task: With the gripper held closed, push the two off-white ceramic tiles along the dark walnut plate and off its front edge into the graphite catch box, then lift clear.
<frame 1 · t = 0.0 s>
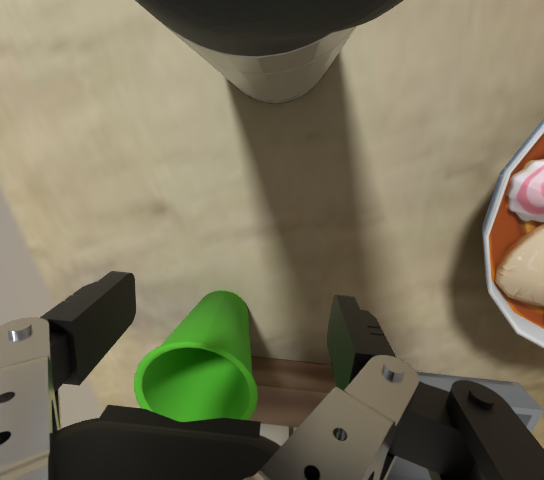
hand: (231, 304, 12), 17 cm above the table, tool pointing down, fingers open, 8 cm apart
catch box: (427, 430, 37), on the table
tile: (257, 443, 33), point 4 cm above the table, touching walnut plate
cup: (224, 309, 33), on the table
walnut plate: (285, 414, 37), on the table
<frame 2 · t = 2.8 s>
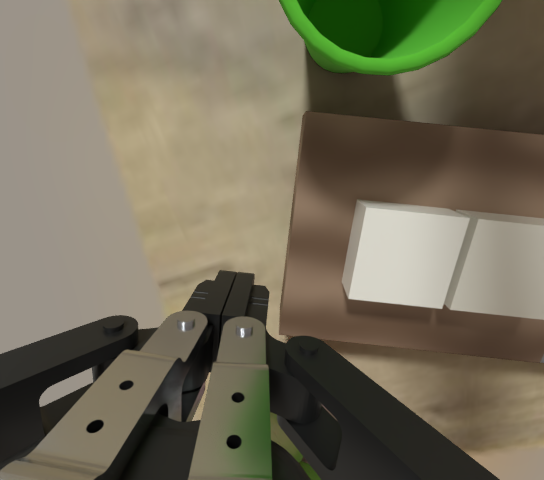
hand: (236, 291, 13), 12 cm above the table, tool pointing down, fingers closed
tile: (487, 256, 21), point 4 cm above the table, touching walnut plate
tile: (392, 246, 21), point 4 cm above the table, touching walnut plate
cup: (342, 31, 21), on the table
decorative fruit: (292, 375, 30), on the table
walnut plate: (413, 234, 25), on the table
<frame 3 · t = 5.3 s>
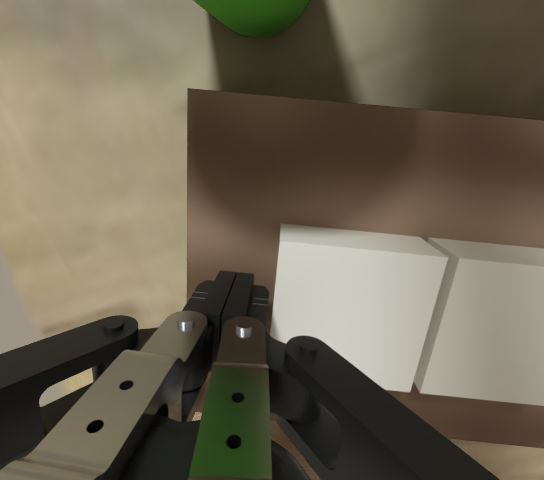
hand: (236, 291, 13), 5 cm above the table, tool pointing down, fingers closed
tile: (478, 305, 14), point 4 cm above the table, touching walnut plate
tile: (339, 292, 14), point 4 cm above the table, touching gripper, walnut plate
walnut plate: (377, 265, 18), on the table
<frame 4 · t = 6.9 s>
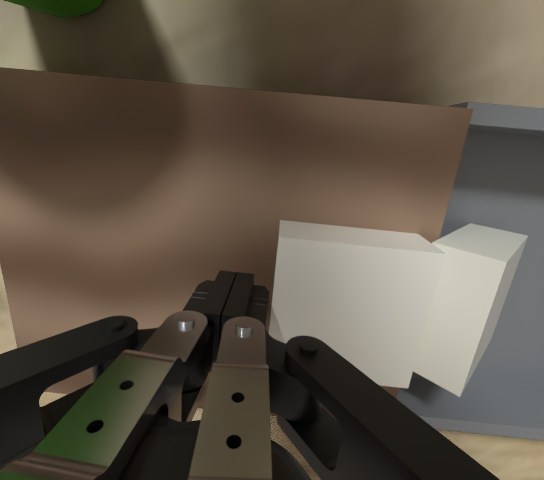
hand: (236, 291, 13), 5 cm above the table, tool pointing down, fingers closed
catch box: (515, 274, 18), on the table
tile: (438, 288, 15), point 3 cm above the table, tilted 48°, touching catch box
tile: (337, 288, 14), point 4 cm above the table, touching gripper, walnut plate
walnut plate: (225, 246, 18), on the table
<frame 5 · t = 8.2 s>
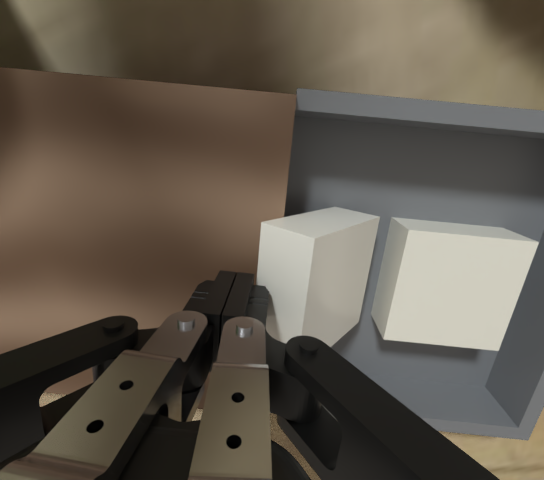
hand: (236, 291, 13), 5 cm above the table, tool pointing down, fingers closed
catch box: (398, 264, 18), on the table
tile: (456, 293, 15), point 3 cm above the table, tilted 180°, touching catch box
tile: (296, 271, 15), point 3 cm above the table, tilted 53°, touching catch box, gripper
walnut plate: (110, 236, 18), on the table
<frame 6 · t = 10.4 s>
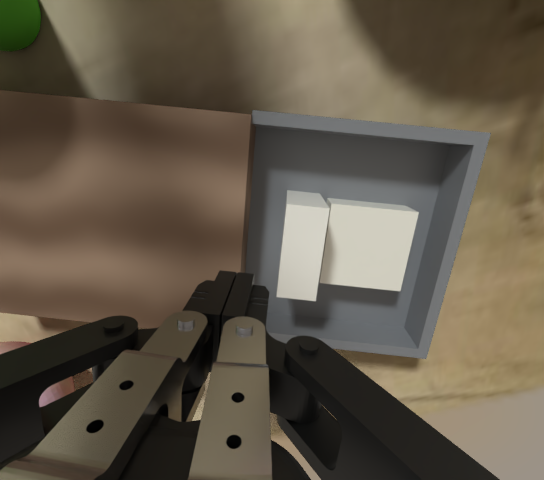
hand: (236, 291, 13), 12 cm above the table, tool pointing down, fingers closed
catch box: (335, 233, 25), on the table
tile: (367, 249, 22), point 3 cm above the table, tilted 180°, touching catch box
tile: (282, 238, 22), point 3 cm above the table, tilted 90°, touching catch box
cup: (9, 11, 22), on the table
decorative fruit: (55, 358, 30), on the table
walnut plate: (128, 212, 25), on the table
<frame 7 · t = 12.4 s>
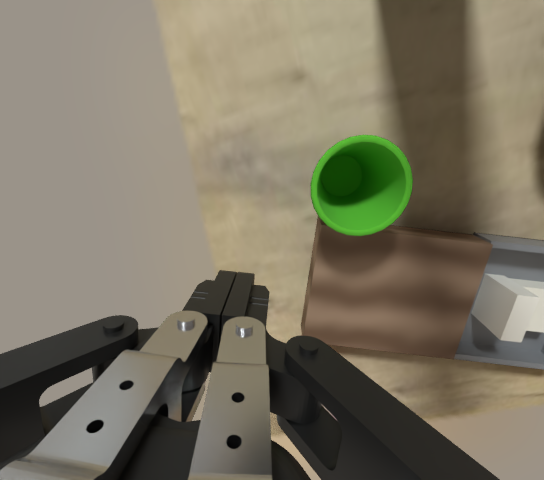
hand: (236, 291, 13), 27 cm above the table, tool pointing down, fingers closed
catch box: (506, 296, 42), on the table
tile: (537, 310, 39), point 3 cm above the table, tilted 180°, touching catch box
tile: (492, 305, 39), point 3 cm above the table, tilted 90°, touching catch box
cup: (340, 175, 38), on the table
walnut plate: (381, 282, 42), on the table
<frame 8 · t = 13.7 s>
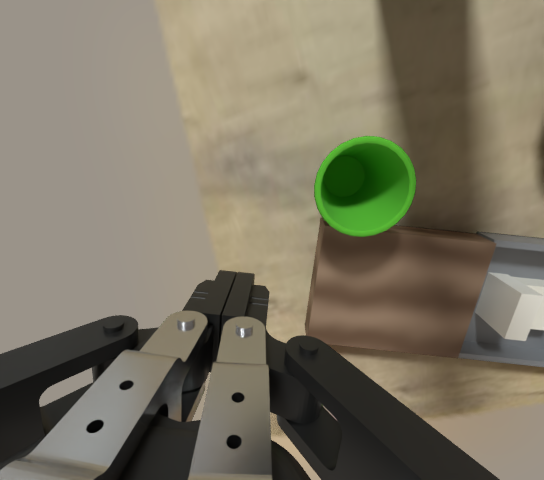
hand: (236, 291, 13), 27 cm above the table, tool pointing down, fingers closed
catch box: (510, 295, 42), on the table
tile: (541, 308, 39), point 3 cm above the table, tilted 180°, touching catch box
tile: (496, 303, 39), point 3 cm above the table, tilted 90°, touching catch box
cup: (343, 176, 38), on the table
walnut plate: (385, 282, 42), on the table
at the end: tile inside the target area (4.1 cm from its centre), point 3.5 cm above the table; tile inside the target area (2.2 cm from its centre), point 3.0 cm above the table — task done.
